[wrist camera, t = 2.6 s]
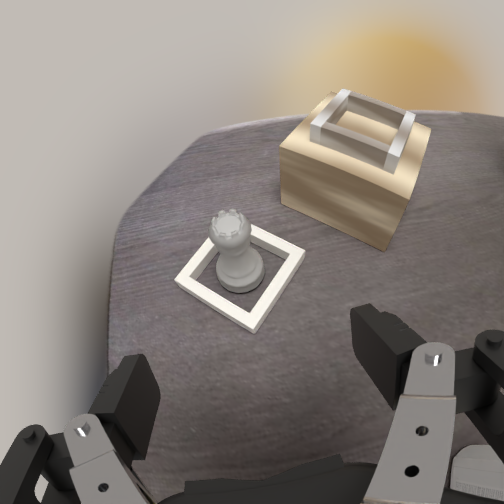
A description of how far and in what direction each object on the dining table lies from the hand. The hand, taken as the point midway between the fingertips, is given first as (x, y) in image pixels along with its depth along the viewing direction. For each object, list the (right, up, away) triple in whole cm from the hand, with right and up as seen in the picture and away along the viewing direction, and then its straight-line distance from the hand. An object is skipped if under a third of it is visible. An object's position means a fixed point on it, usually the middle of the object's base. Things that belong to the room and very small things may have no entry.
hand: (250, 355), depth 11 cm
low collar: (-1, +2, +18) cm, 18 cm away
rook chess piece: (-1, +2, +18) cm, 18 cm away
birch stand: (+11, +11, +22) cm, 27 cm away
